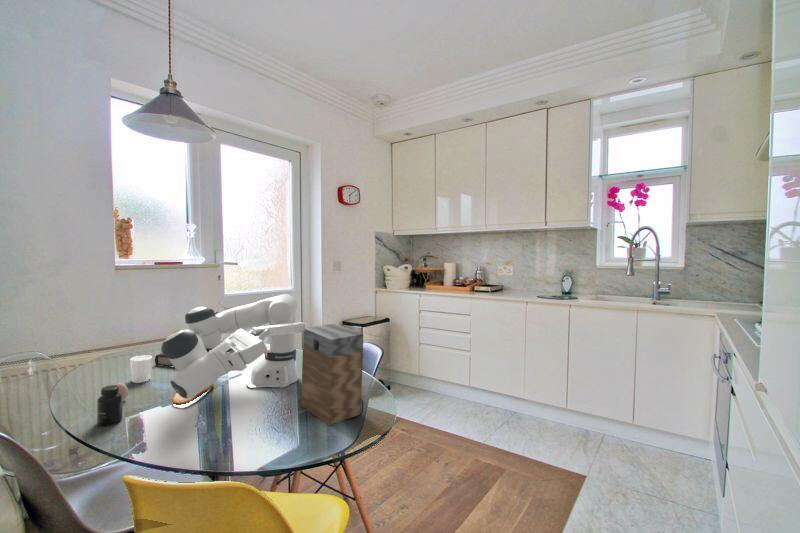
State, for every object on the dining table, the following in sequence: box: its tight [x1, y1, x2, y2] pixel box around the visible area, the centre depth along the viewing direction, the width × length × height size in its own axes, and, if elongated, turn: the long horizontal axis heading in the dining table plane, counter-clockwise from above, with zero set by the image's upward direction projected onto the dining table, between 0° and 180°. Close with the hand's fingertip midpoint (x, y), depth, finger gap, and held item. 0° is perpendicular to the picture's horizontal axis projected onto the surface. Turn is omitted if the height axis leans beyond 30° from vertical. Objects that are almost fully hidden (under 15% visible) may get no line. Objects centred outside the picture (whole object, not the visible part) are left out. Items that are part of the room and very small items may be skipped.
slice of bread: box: [171, 383, 215, 405], centre depth 146 cm, size 18×18×4 cm
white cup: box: [129, 354, 153, 384], centre depth 159 cm, size 8×8×10 cm
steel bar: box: [252, 321, 306, 338], centre depth 125 cm, size 18×3×3 cm, turn 133°
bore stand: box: [301, 323, 364, 426], centre depth 138 cm, size 14×20×31 cm
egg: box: [114, 382, 129, 401], centre depth 138 cm, size 5×5×7 cm
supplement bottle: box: [96, 384, 124, 427], centre depth 123 cm, size 7×7×12 cm
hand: (265, 329), depth 121 cm, fingers closed on steel bar, 3 cm apart
